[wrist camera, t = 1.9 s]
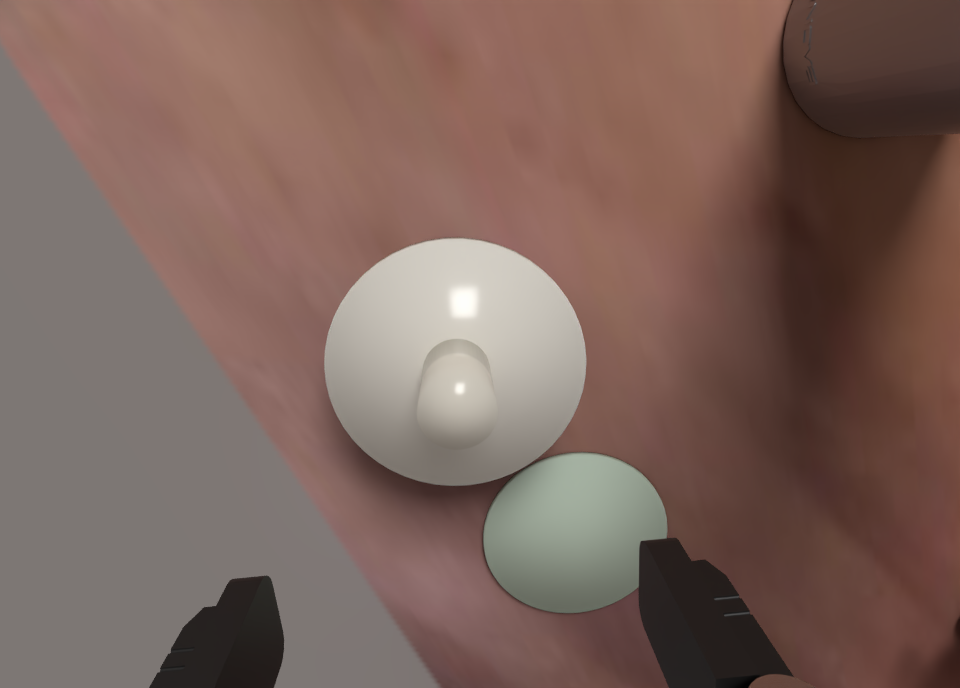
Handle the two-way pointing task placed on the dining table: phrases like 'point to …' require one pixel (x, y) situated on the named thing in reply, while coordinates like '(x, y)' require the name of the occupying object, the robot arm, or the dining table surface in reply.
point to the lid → (455, 361)
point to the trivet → (572, 531)
